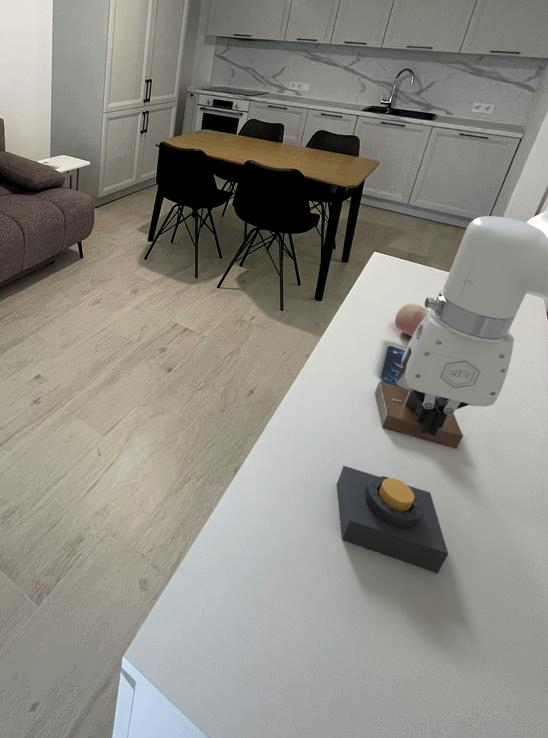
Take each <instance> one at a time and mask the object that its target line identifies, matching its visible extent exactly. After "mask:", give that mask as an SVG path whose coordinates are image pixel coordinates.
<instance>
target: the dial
mask: <svg viewBox="0 0 548 738" xmlns="http://www.w3.org/2000/svg"><path fill="white" fill-rule="evenodd" d="M437 398H438V396H436V399H437ZM419 401H420V400H419V399H418V398H417V396H416V395H415V394H414V392H413V391H409V393H408V395H407V398H406V400H405V403H406V405H407V406H408V408H410V409H411V410H412V411H414V412H415V411H416V409H417V406H418V404H419Z"/></svg>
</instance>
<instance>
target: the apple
mask: <svg viewBox="0 0 548 738" xmlns="http://www.w3.org/2000/svg"><path fill="white" fill-rule="evenodd" d="M429 311H430V310H429V309H428V308H426V307H425V306H422V305H418V304H415V303H408V304H407V303H406V304H405V305H403V306H401V308H399V309H398V311H397V313H396V314H395V319H394V324H395V327H396V328H397V329H398V330H399V331H401V332H403V333H404V334H406V335H408V336H410V337H412V336H413V334H414V333H415V331H416V329H417V328H418V326H419V324H420V323H421V321H422V320H423V319H424V317H425V316H426V315H427V313H428V312H429Z"/></svg>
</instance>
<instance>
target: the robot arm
mask: <svg viewBox="0 0 548 738" xmlns="http://www.w3.org/2000/svg"><path fill="white" fill-rule="evenodd" d="M527 293H533V294H537V295H540V296H543V297H547V298H548V210H545V211H544V212H542V213H539V214H537V215H535V216H533V217H532V218H530V219H528V220H526V222H524V221H522V220H518V219H514V218H509V217H506V216H505V217H503V216H495V215H493V216H492V215H484V216H479V217H476V218H474V219H473V220H471V222H470V223H468V225H467V227H466V229H465V231H464V234H463V237H462V239H461V242H460V245H459V246H458V250H457V252H456V255H455V257H454V260H453V262H452V265H451V268H450V270H449V273H448V276H447V278H446V281H445V283H444V286H443V289H442V291H439V294H438V296H437V297H433V298H432V297H426V298H425V300H424V308H425V309H430V310H428V311H429V312H428V313H427V315H426V316H425V317H424V319H423V320H422V321H421V323H420V324H419V326H418V328H417V329H416V331H415V333H414V334H413V336H411V339H410V340H409V342H408V343H407V344H408V345H407V347H406V349H405V353H404V355H403V358H402V362H401V367H402V369H401V370H400V372H399V373H398V374H397V375H396V377H395V379H396V382H397V385H398V386H400V387H402V388H405V389H407V390H409V391H413V392H414V394H415V395H416V396H417V398H418V399H419V400H420V401H419V404H418V406H417V409H416V411H415V414H414V419H415V422H417V423H418V425H419V428H420V431H421V433H424V434H426V433H428V434H430V435H432V436H435V435H436V433H437V431H438V428H442V426H443V424H444V422H445V419H446V417H447V415H448V414H449V415H450V414H453V413H455V411H457V410H459V409H463V408H465V407H467V406H471V407H489V406H493V405H494V404H495V403H496V401H497V400H498V398H499V395H500V393H501V391H502V389H503V387H504V386H503V385H504V383H505V381H506V377H507V374H508V371H509V367H510V364H511V359H512V355H513V349H514V343H515V341H514V340H515V338H514V336H513V335H512V334H511V333H510V332H509V331H510V329H511V327H512V324H513V323H514V320H515V318H516V315H517V314H518V312H519V309H520V307H521V305H522V303H523V301H524V298H525V297H526V294H527ZM436 396H438V398H437V399H436Z"/></svg>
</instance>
